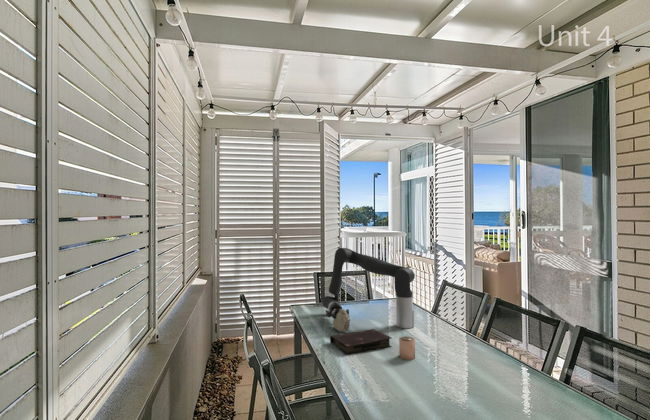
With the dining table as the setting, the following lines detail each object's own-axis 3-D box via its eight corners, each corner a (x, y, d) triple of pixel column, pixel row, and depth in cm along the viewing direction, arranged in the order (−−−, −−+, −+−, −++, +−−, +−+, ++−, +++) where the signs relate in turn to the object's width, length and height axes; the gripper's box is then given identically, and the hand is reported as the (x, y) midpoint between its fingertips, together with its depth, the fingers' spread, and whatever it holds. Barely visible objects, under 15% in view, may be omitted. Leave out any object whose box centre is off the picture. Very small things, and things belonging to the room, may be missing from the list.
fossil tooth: (339, 327, 213) (353, 332, 200) (329, 328, 210) (343, 333, 197) (339, 306, 214) (353, 310, 201) (329, 307, 212) (343, 311, 198)
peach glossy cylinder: (411, 353, 173) (411, 335, 173) (417, 359, 166) (417, 340, 166) (397, 354, 172) (397, 336, 172) (402, 360, 165) (402, 341, 165)
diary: (329, 344, 187) (329, 334, 187) (372, 337, 198) (372, 328, 198) (347, 356, 170) (347, 345, 170) (393, 348, 181) (393, 338, 181)
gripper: (323, 303, 222) (327, 310, 205) (346, 302, 224) (353, 309, 207) (323, 315, 222) (327, 324, 205) (347, 314, 224) (353, 322, 207)
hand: (340, 316), depth 206 cm, fingers closed on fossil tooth, 5 cm apart
